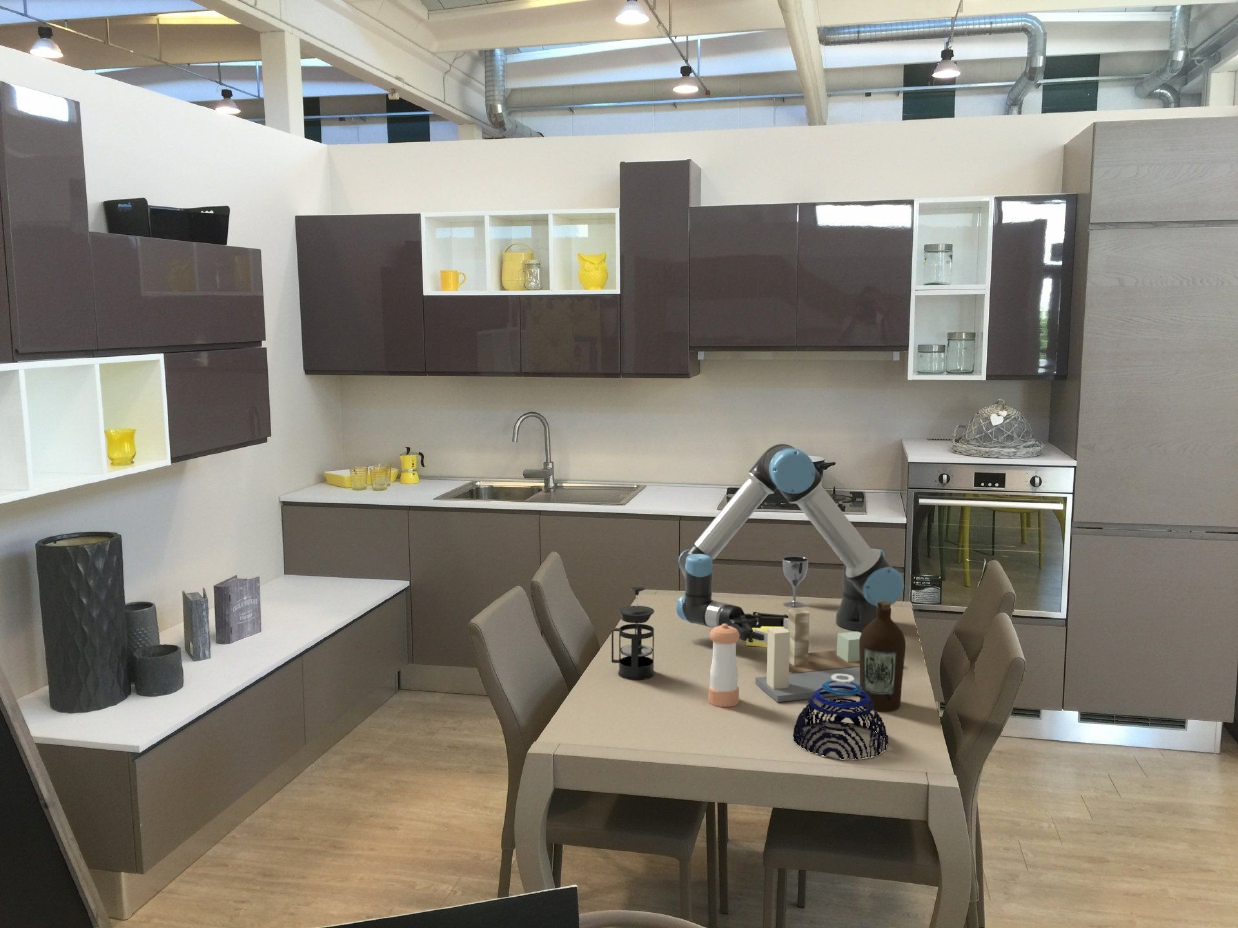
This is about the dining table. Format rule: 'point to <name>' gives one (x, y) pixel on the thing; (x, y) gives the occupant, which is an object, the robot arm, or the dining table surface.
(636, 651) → the french press
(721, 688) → the pepper shaker
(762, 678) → the gray board with post
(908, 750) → the dining table surface
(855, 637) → the sage block
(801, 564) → the wine glass
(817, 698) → the blue ringed dome
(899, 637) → the olive oil
